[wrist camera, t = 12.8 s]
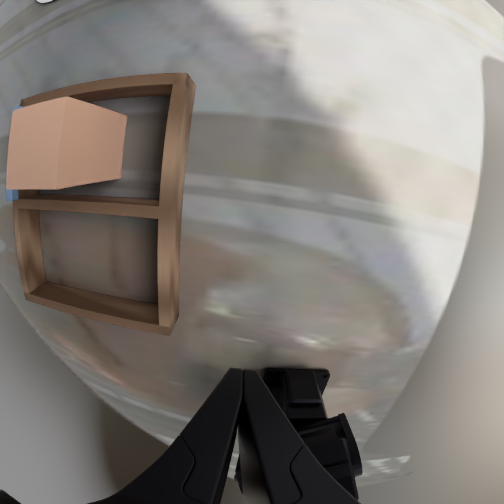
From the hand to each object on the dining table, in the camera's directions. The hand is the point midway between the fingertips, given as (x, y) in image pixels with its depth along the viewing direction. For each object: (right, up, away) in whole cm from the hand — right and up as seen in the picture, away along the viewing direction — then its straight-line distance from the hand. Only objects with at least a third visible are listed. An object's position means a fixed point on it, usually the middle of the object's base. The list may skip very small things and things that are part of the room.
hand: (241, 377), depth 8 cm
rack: (-12, +8, +11) cm, 19 cm away
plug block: (-12, +12, +10) cm, 20 cm away
